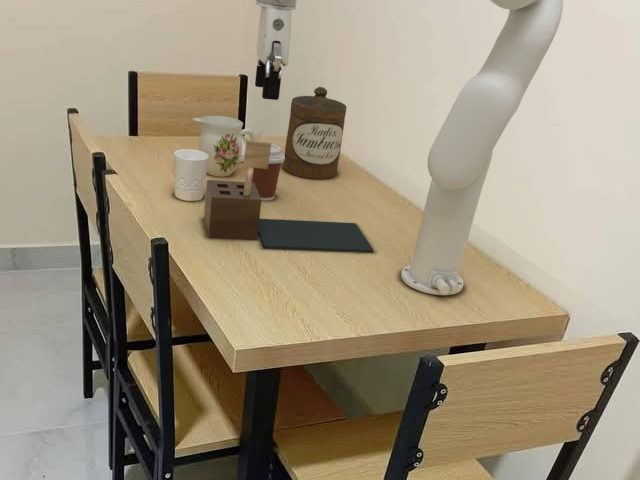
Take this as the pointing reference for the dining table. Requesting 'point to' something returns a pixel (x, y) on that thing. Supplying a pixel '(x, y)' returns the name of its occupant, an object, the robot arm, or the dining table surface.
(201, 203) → the dining table surface
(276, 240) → the mat
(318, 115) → the wooden container
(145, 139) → the dining table surface
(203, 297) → the dining table surface
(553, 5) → the robot arm
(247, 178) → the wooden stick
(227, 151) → the pitcher
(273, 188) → the coffee cup
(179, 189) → the white cup
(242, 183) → the utensil block
